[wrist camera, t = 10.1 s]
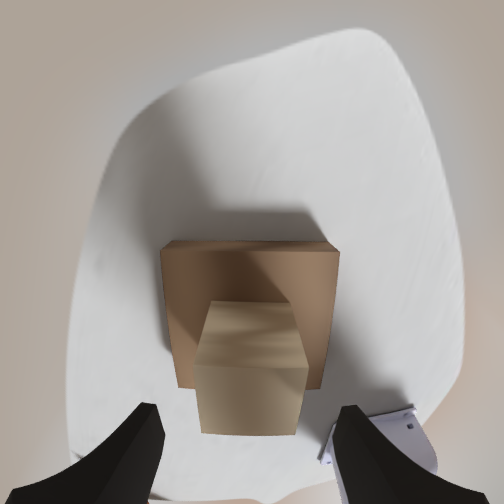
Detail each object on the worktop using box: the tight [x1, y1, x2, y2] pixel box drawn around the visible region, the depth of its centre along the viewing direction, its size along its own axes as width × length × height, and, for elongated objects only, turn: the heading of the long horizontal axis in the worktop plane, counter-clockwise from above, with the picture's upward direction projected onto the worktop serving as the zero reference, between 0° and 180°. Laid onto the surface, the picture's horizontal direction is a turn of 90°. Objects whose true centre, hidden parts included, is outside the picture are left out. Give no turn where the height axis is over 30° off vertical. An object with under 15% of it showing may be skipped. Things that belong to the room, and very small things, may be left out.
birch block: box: [193, 301, 309, 436], centre depth 14 cm, size 4×4×6 cm
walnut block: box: [160, 241, 340, 390], centre depth 18 cm, size 10×10×3 cm
